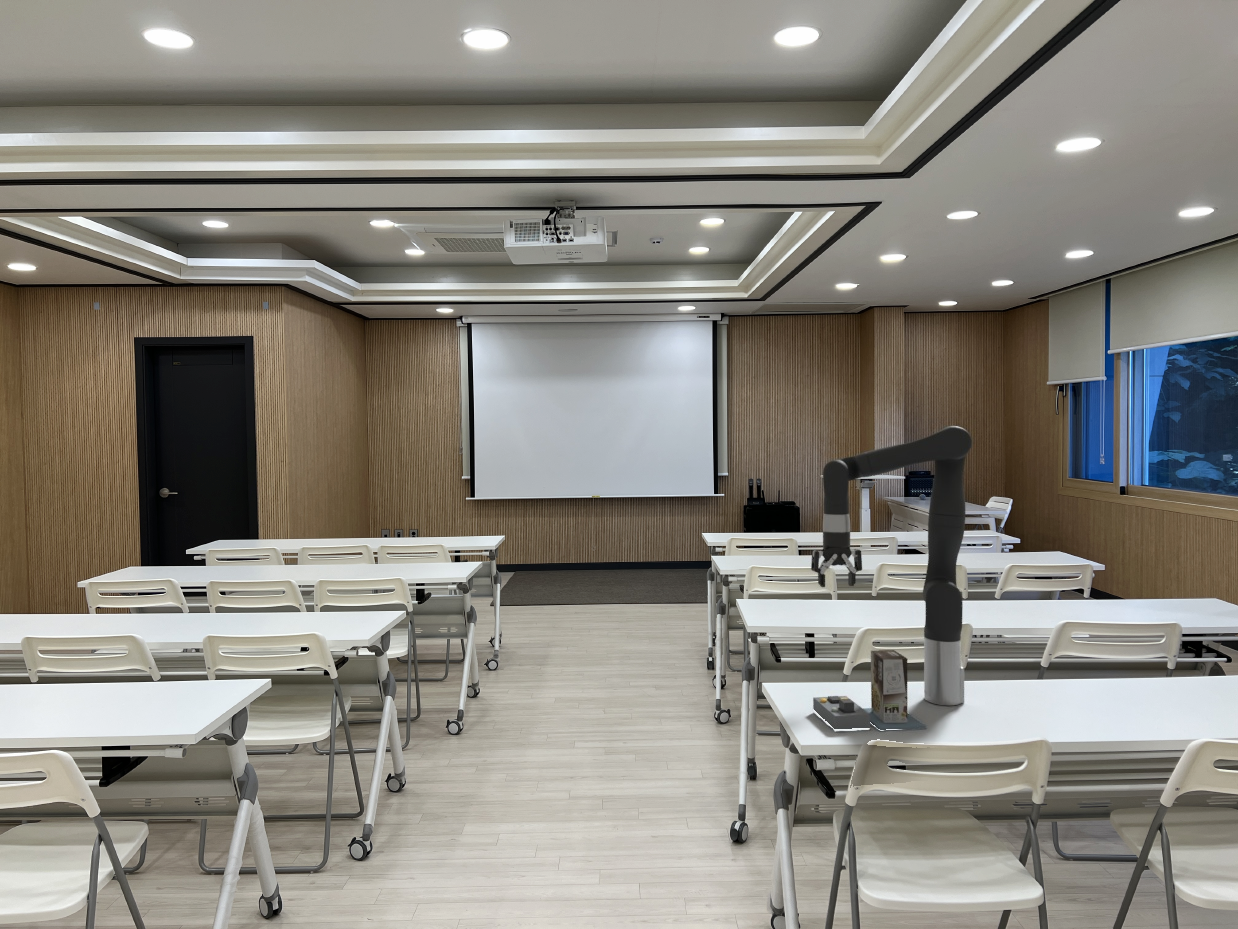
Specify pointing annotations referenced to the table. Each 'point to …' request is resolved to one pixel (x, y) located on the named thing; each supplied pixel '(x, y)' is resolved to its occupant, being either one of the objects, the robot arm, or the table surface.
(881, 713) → the coffee box
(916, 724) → the mat
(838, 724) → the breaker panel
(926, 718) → the table surface
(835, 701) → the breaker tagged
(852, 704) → the block
